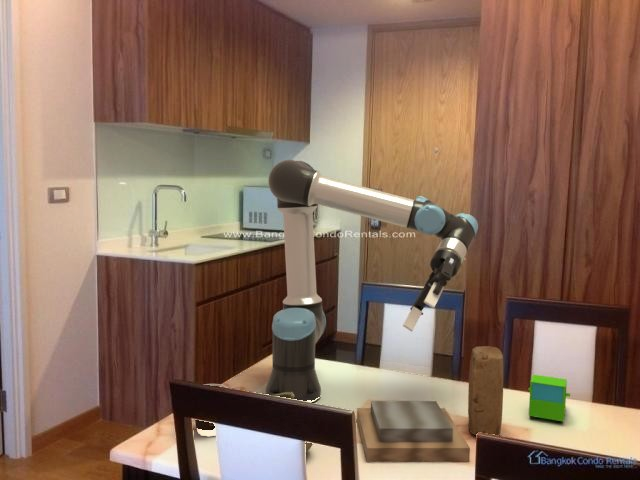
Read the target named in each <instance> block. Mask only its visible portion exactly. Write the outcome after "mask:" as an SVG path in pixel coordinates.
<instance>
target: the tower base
mask: <svg viewBox="0 0 640 480" xmlns="http://www.w3.org/2000/svg"><path fill="white" fill-rule="evenodd" d="M356 422H357V426H358V430H359V433H360V434H359V435H360V438H361V443H362V447H363V451H364V455H365V460H366V462H368V463H372V462H373V463H376V462H378V463H379V462H383V463H384V462H394V463H395V462H397V463H398V462H400V463H401V462H408V463H409V462H415V463H416V462H418V463H419V462H428V463H429V462H430V463H431V462H470V459H471V458H470V454H471V447H470V445H469V443H468V442H467V441H466V439H465V438H464V435H462V433H461V431H460V430H459V429H458V427H457V425H456V423H455V422H454V420H453V419H452V418H451V416H450V414H449V412H448V411H447V410H446V408H445V407H441V406H440V404H439V403H438V402H437V400H370V407H357V409H356Z"/></svg>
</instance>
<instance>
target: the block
mask: <svg viewBox="0 0 640 480" xmlns="http://www.w3.org/2000/svg"><path fill="white" fill-rule="evenodd" d="M467 396H468V399H467V400H468V401H467V406H468V407H467V411H468V413H467V415H468V416H467V417H468V422H467V423H468V429H469V431H470V433H471V434H473V435H475V436H477V435H476V434H477V433H478V432H482V433H488V434H495V435H497V436H499V435H501V431H502V425H503V423H502V422H503V406H504V405H503V404H504V355H503V352H502V351H501V350H500V349H499V348H498V347H496V346H490V345H489V346H487V345H484V346H475V347H474V348H472V350H471V355H470V360H469V371H468V395H467Z"/></svg>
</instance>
